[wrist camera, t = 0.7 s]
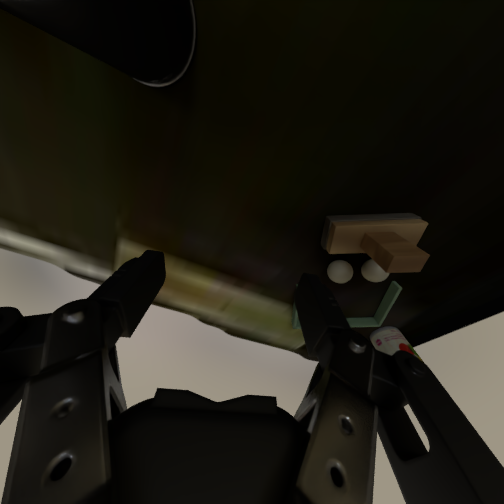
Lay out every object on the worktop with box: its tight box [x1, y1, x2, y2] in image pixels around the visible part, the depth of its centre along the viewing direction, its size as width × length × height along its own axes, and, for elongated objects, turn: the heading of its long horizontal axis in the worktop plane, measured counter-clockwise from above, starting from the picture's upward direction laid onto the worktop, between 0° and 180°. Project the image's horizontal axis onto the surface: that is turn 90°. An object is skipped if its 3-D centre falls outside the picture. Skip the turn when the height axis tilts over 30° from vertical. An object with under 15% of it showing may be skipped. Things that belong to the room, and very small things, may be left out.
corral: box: [292, 281, 402, 329], centre depth 37 cm, size 12×19×2 cm, turn 92°
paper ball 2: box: [361, 259, 389, 282], centre depth 30 cm, size 4×4×4 cm
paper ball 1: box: [327, 260, 353, 283], centre depth 31 cm, size 4×4×4 cm
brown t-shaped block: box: [320, 213, 430, 273], centre depth 24 cm, size 5×13×10 cm, turn 92°
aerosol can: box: [370, 326, 466, 417], centre depth 36 cm, size 7×7×20 cm
